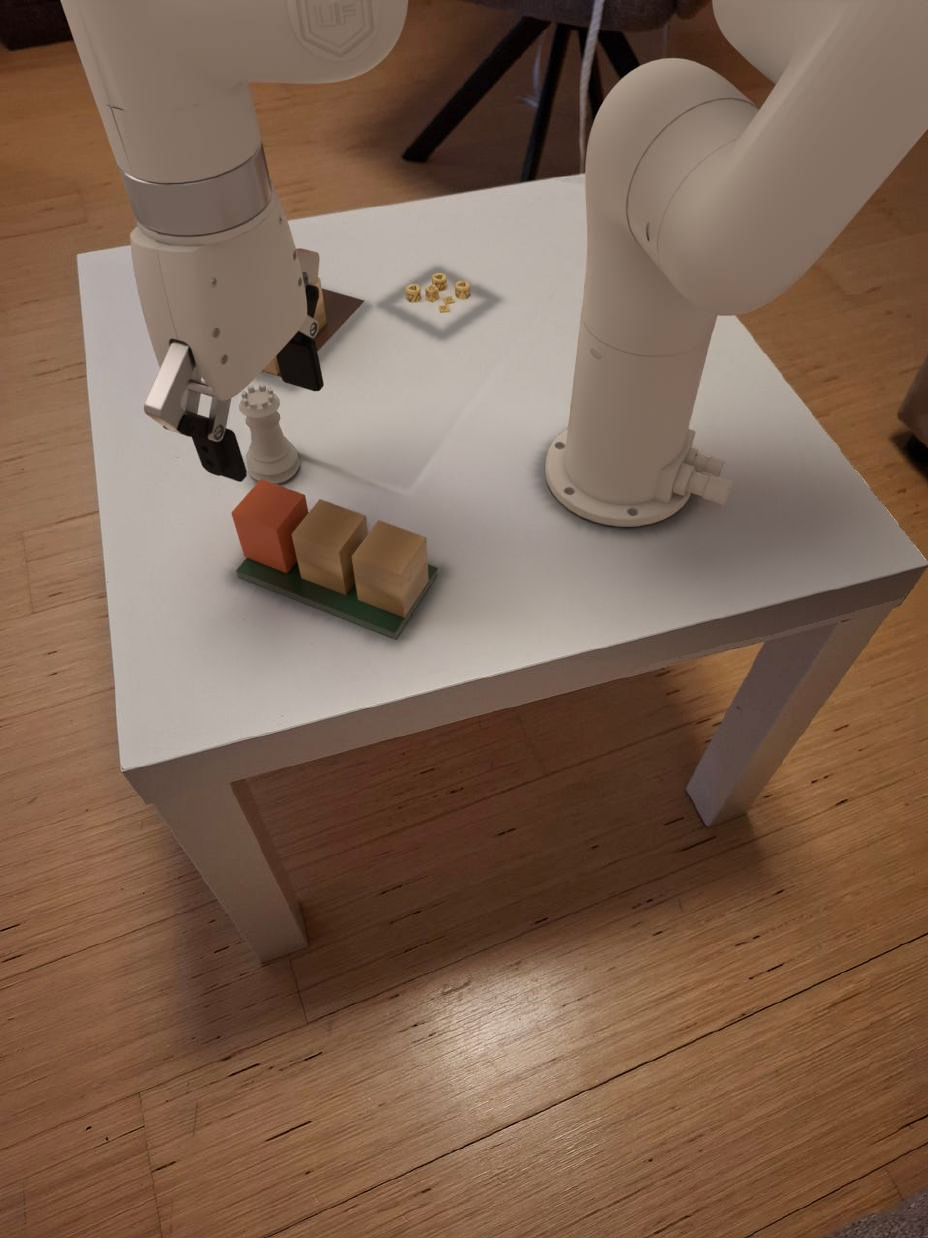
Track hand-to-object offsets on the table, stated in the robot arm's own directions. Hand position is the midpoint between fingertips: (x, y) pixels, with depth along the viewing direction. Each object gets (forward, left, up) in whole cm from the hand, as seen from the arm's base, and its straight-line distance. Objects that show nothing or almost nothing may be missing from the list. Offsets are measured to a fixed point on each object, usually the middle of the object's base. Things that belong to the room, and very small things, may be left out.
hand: (266, 427), depth 62 cm
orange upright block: (+1, +1, -12) cm, 12 cm away
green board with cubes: (-4, +1, -13) cm, 14 cm away
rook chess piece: (+7, -7, -13) cm, 16 cm away
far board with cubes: (+15, -24, -13) cm, 31 cm away
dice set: (+5, -35, -13) cm, 38 cm away
